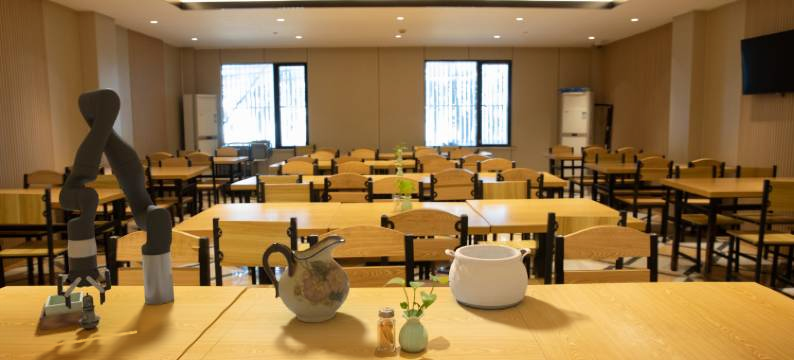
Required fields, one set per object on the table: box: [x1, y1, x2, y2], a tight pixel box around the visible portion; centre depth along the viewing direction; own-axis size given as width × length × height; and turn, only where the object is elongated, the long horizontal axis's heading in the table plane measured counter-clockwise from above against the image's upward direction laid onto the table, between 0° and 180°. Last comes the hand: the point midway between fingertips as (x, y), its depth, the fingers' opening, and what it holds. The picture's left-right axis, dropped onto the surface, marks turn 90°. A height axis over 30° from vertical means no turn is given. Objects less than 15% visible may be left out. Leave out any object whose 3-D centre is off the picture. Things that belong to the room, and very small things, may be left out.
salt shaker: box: [79, 291, 101, 331], centre depth 182 cm, size 6×6×12 cm
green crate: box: [45, 290, 85, 316], centre depth 191 cm, size 10×12×6 cm
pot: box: [444, 243, 532, 310], centre depth 205 cm, size 29×26×17 cm
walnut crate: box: [39, 302, 83, 331], centre depth 191 cm, size 13×15×4 cm
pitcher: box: [261, 234, 351, 323], centre depth 190 cm, size 22×24×25 cm
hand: (85, 306), depth 182 cm, fingers open, 8 cm apart
